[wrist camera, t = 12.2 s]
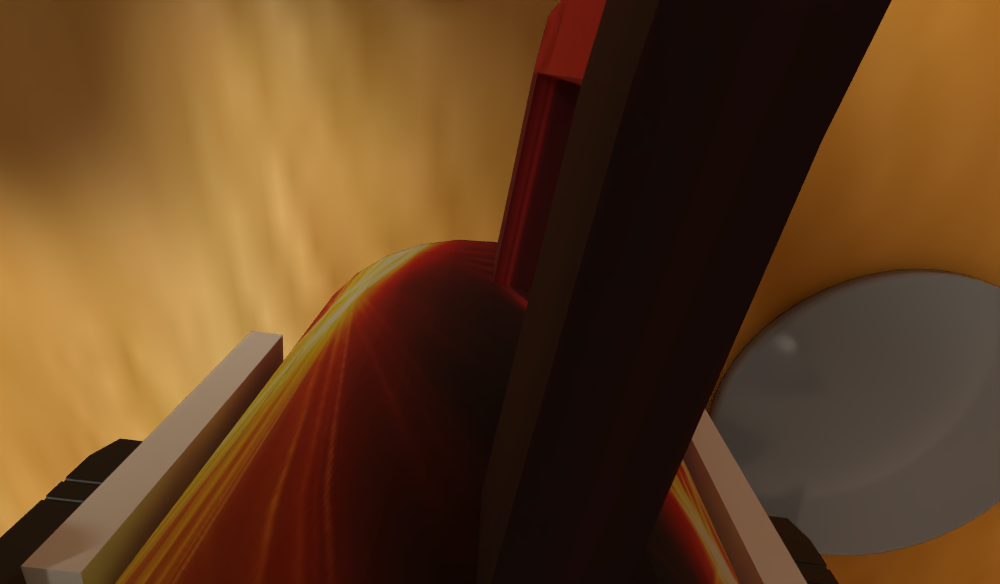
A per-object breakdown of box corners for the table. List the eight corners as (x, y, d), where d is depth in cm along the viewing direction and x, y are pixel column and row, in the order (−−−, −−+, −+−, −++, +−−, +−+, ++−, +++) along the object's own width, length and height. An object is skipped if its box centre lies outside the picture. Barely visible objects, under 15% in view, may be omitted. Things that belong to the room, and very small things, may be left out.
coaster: (769, 244, 19) (778, 250, 19) (1121, 296, 20) (1145, 305, 19) (669, 521, 25) (674, 535, 24) (950, 558, 25) (963, 572, 24)
